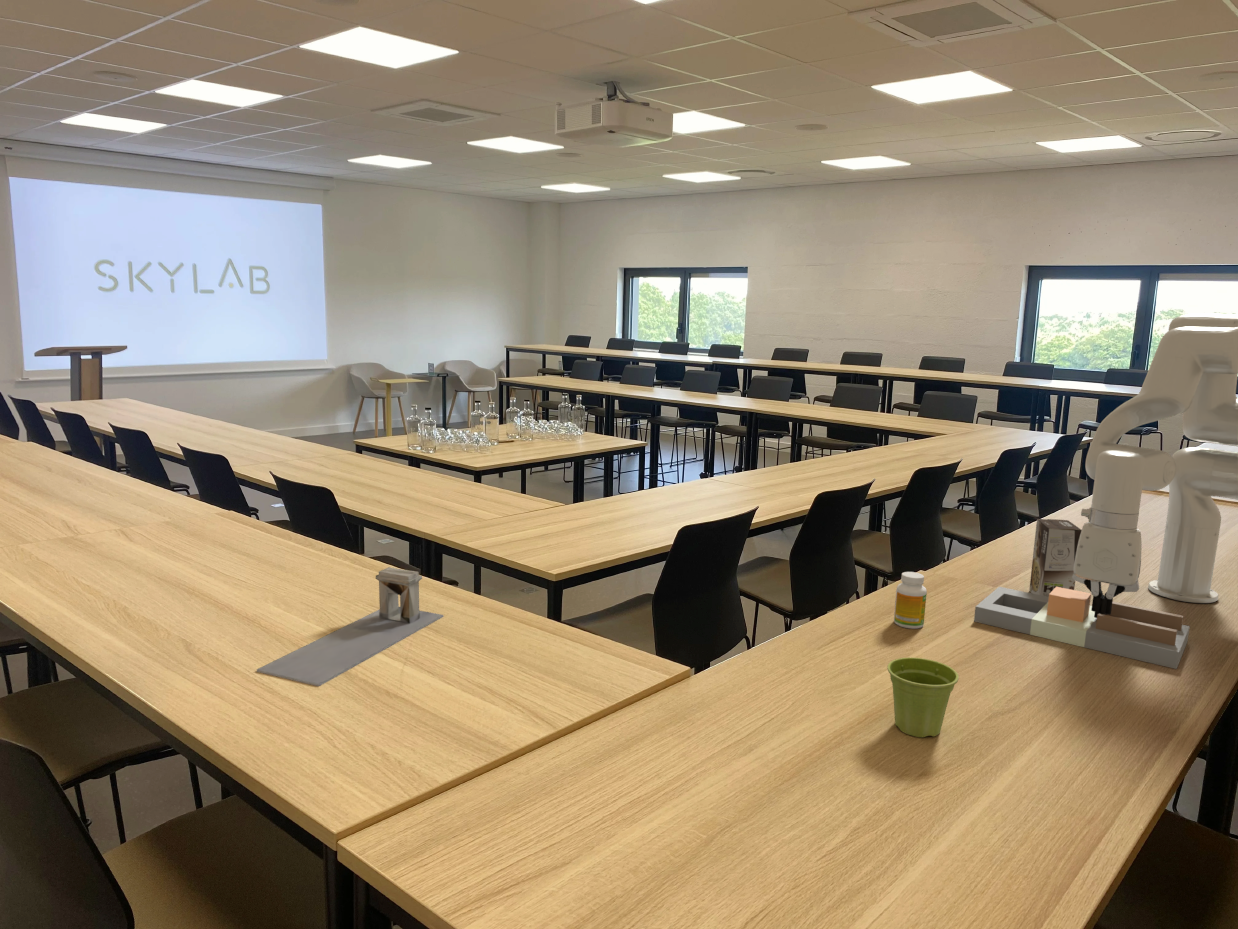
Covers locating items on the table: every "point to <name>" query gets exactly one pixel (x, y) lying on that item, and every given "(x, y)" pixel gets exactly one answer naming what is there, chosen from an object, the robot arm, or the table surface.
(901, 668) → the plant pot
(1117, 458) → the robot arm
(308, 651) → the monument
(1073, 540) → the coffee box
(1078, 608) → the block
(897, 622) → the supplement bottle
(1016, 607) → the compartment tray
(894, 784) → the table surface
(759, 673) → the table surface
